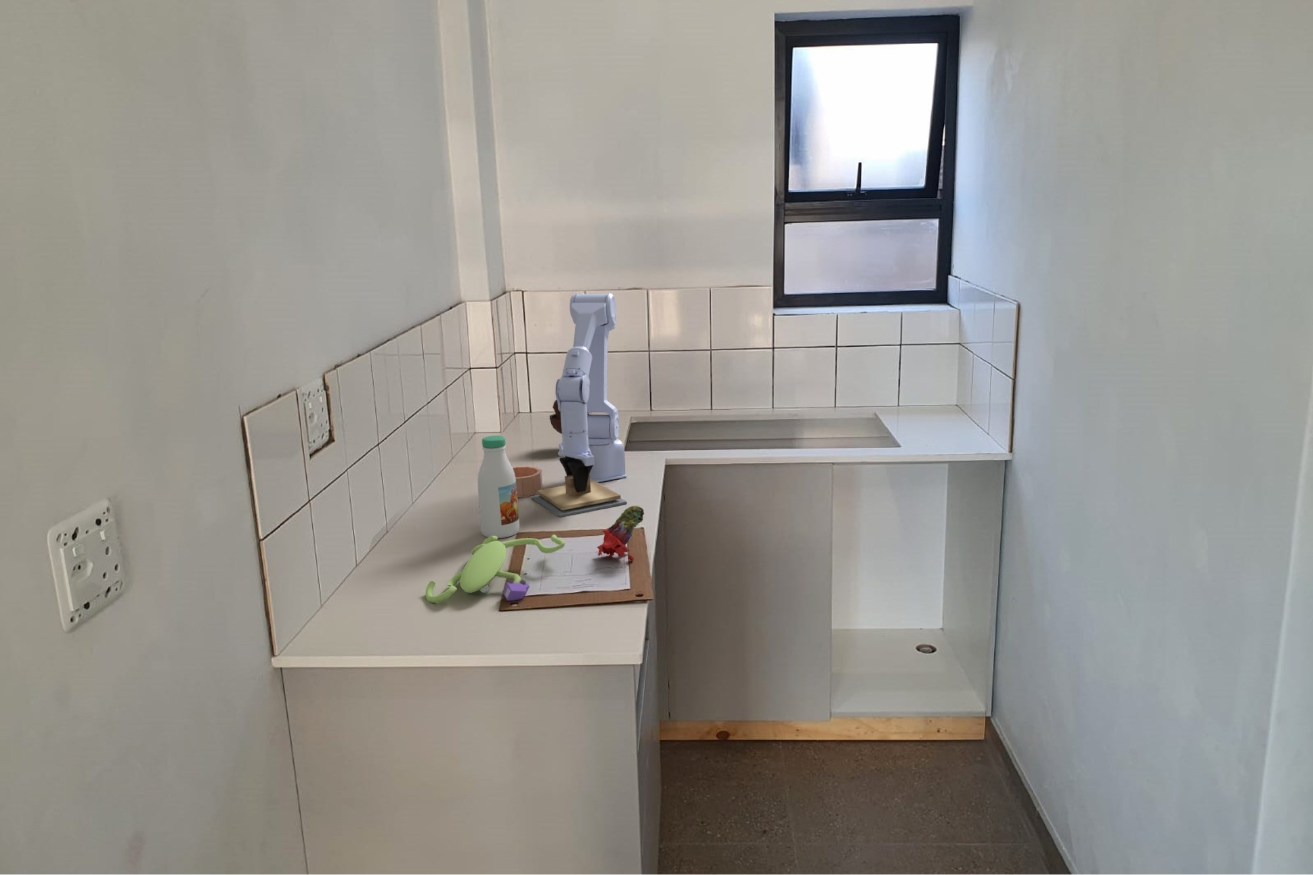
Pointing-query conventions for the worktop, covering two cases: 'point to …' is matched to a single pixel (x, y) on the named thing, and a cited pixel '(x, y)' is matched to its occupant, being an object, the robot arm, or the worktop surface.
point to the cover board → (577, 494)
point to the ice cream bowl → (556, 418)
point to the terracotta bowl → (528, 480)
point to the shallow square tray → (579, 509)
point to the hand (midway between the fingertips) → (578, 489)
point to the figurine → (491, 569)
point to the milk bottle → (497, 491)
